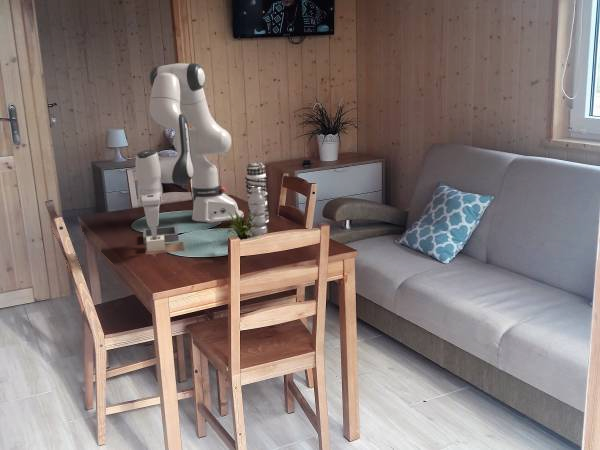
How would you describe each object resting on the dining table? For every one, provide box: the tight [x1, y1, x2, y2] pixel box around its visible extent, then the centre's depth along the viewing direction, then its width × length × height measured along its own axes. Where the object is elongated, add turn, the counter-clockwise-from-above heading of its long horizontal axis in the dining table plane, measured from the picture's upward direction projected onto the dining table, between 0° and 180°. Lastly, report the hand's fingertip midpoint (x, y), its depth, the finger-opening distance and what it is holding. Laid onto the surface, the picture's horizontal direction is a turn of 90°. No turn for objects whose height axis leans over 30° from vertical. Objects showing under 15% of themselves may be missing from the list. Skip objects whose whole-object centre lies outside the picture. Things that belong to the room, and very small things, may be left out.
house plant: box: [222, 211, 258, 240], centre depth 237 cm, size 14×14×16 cm
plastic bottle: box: [247, 186, 268, 238], centre depth 256 cm, size 6×7×20 cm
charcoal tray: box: [142, 225, 180, 245], centre depth 261 cm, size 13×13×4 cm
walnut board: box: [144, 235, 185, 256], centre depth 247 cm, size 14×12×6 cm
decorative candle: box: [244, 161, 270, 224], centre depth 280 cm, size 9×9×25 cm
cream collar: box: [146, 235, 166, 252], centre depth 246 cm, size 6×6×4 cm
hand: (154, 233), depth 245 cm, fingers open, 8 cm apart
